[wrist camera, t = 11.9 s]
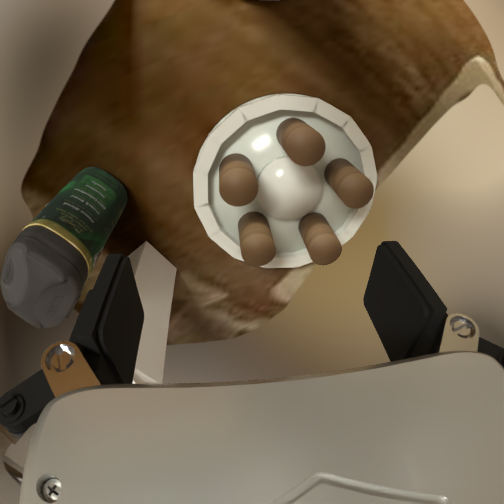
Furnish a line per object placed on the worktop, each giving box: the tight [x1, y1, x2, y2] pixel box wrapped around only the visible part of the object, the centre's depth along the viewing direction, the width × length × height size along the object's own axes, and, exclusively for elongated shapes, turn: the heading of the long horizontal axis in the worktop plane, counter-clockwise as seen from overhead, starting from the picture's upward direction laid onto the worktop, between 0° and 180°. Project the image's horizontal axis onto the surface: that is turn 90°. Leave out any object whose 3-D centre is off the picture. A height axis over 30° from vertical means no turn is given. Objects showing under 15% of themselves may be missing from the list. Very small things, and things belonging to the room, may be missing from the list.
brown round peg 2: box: [324, 158, 374, 209], centre depth 35 cm, size 4×4×6 cm
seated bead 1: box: [238, 212, 276, 266], centre depth 38 cm, size 4×4×6 cm
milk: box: [128, 241, 177, 384], centre depth 34 cm, size 6×6×22 cm
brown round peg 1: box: [298, 212, 342, 265], centre depth 38 cm, size 4×4×6 cm
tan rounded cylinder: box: [276, 118, 326, 166], centre depth 32 cm, size 4×4×6 cm
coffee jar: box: [1, 167, 127, 329], centre depth 29 cm, size 10×8×19 cm
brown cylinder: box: [219, 153, 258, 207], centre depth 33 cm, size 4×4×6 cm
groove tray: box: [193, 93, 377, 268], centre depth 38 cm, size 22×22×2 cm
